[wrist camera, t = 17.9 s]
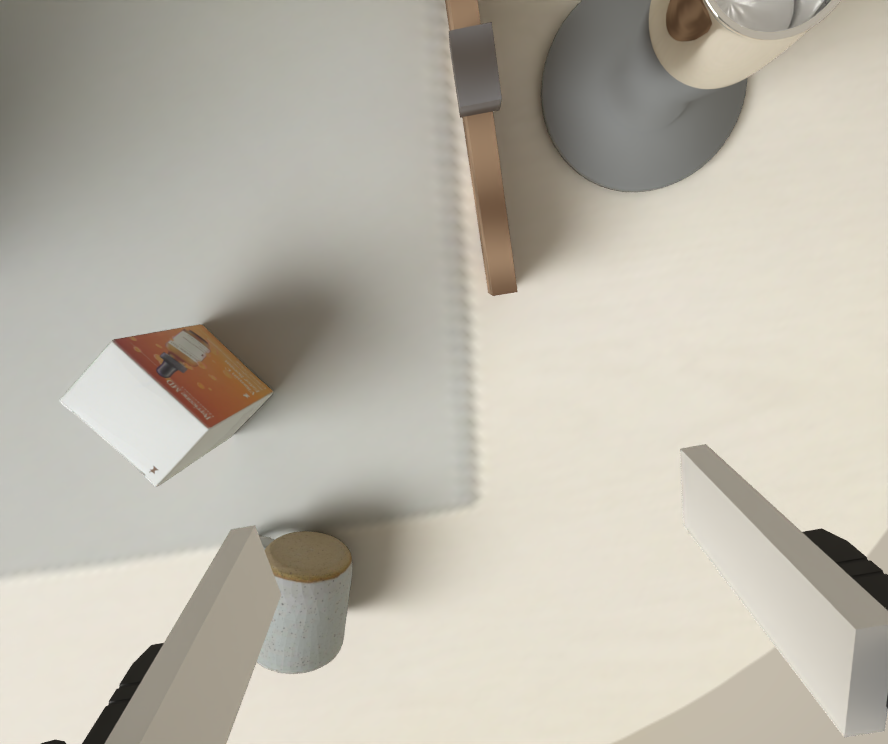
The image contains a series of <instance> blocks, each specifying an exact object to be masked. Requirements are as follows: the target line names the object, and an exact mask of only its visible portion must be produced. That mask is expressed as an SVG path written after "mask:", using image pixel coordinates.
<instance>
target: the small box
mask: <svg viewBox="0 0 888 744" xmlns="http://www.w3.org/2000/svg"><path fill="white" fill-rule="evenodd" d="M272 394H273V391H272V390H271V389H270V388H269V387H268V386H267V385H266V384H265V383H263V382H262V381H261V380H260V379H259V378H258V377H256V376H255V375H254V374H253V373H252V372H251V371H250V370H249V369H248V368H247V367H246V366H245V365H244V364H243V363H242V362H241V361H240V360H239V359H238V358H236V357H235V356H234V355H233V354H232V353H231V352H230V351H229V350H228V349H227V348H226V347H225V346H224V345H223V344H222V343H221V342H220V341H219V340H218V339H217V338H216V337H214V336H213V335H212V334H211V333H210V332H209V331H208V330H207V329H206V328H205V327H204V326H203V325H200V324H199V325H193V326H188V327H182V328H176V329H171V330H165V331H159V332H153V333H148V334H143V335H137V336H131V337H125V338H120V339H114V340H112V341H111V342H110V343H109V345H108V346H107V347H106V348H105V349H104V350H103V351H102V352H101V354H100V355H99V356H98V357H97V358H96V359H95V360H94V361H93V363H92V364H91V365H90V366H89V367H88V368H87V369H86V371H85V372H84V373H83V374H82V375H81V376H80V377H79V378H78V380H77V381H76V382H75V383H74V384H73V385H72V386H71V388H70V389H69V390H68V391H67V392H66V393H65V394H64V396H63V397H62V398H61V399H60V403H61V404H63V405H64V406H65V407H66V408H67V409H68V410H70V411H71V412H73V413H74V414H75V415H76V416H78V417H79V418H80V419H81V420H82V421H83V422H84V423H86V424H87V425H88V426H89V427H90V428H91V429H92V430H94V431H95V432H96V433H97V434H98V435H99V436H101V437H102V438H103V439H104V440H105V441H106V442H107V443H108V444H109V445H111V446H112V447H113V448H114V449H115V450H116V451H117V452H118V453H120V454H121V455H122V456H123V457H124V458H125V459H126V460H127V461H129V462H130V463H131V464H132V465H133V466H134V467H135V468H136V469H137V470H138V471H139V472H140V473H142V474H143V476H144V477H145V478H146V479H147V480H148V481H149V482H150V483H151V484H152V485H153V486H155V487H157V486H159V485H161V484H162V483H164V482H165V481H167V480H168V479H170V478H171V477H173V476H174V475H176V474H177V473H179V472H180V471H182V470H183V469H185V468H186V467H188V466H189V465H190V464H192V463H193V462H195V461H196V460H198V459H199V458H201V457H202V456H204V455H205V454H207V453H208V452H210V451H211V450H213V449H214V448H216V447H217V446H219V445H220V444H222V443H223V442H225V441H226V440H228V439H229V438H231V437H232V436H233V435H234V433H235V432H236V431H237V430H238V429H239V428H240V427H241V426H242V425H243V424H244V423H245V422H246V421H247V420H248V419H249V418H250V417H251V416H252V415H253V414H254V413H255V412H256V411H257V410H258V409H259V408H260V407H261V406H262V404H263V403H264V402H265V401H266V400H267V399H268V398H269V397H270V396H271V395H272Z"/></svg>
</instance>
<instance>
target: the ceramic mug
mask: <svg viewBox="0 0 888 744" xmlns="http://www.w3.org/2000/svg"><path fill="white" fill-rule="evenodd" d="M259 537H260V540H261V543H262V545H263V548H264V551H265V553H266V556H267V558H268V561H269V564H270V566H271V569H272V572H273V574H274V577H275V579H276V582H277V585H278V587H279V590H280V593H281V597H280V600H279V603H278V605H277V608H276V611H275V613H274V616H273V619H272V621H271V624H270V627H269V630H268V632H267V635H266V638H265V640H264V643H263V646H262V648H261V651H260V654H259V656H258V659H257V663H258V664H260V665H261V666H262V667H264V668H266V669H269V670H271V671H276V672H278V673H286V674H298V673H306V672H310V671H314V670H316V669H318V668H321V667H323V666H324V665H326V664H328V663H329V662H330V661H332V660H333V659H334V658H335V657H336V655H337V654H338V653H339V651H340V649H341V646H342V644H343V639H344V632H345V623H346V616H347V609H348V601H349V593H350V587H351V580H352V558H351V553H350V551H349V549H348V548H347V547H346V546H345V544H344V543H342V542H341V541H340V540H338V539H336V538H335V537H333V536H330V535H327V534H324V533H319V532H308V531H302V532H293V533H289V534H285V535H283V536H281V537H279V538H277V539H275V540H274V539H272V538H270V537H264V536H259Z"/></svg>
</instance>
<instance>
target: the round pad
mask: <svg viewBox="0 0 888 744" xmlns="http://www.w3.org/2000/svg"><path fill="white" fill-rule="evenodd" d="M647 2H648V0H582V1H581V2H580V3H579V4H578V5H577V6H576V7H575V8H574V9H573V10H572V12H571V13H570V14H569V15H568V17H567V18H566V19H565V21H564V22H563V24H562V25H561V27H560V29H559V30H558V32H557V34H556V36H555V38H554V40H553V43H552V45H551V47H550V50H549V53H548V56H547V59H546V62H545V66H544V71H543V77H542V88H541V98H542V109H543V115H544V120H545V123H546V126H547V130H548V133H549V135H550V137H551V139H552V141H553V143H554V145H555V147H556V148H557V150H558V152H559V153H560V155H561V156H562V157H563V158H564V160H565V161H566V162H567V163H568V164H569V165H570V166H571V167H572V168H573V169H574V170H575V171H576V172H577V173H579V174H580V175H581V176H583V177H585V178H586V179H588V180H589V181H591V182H593V183H595V184H597V185H599V186H602V187H605V188H608V189H612V190H617V191H623V192H643V191H651V190H655V189H659V188H663V187H666V186H668V185H671V184H674V183H676V182H678V181H680V180H682V179H684V178H686V177H688V176H690V175H691V174H693V173H694V172H695V171H697V170H698V169H700V168H701V167H702V166H703V165H705V164H706V163H707V162H708V161H709V160H710V159H711V158H712V157H713V156H714V155H715V154H716V153H717V151H718V150H719V149H720V148H721V147H722V145H723V144H724V143H725V141H726V140H727V138H728V137H729V135H730V133H731V132H732V130H733V128H734V126H735V124H736V122H737V119H738V117H739V114H740V112H741V109H742V106H743V102H744V98H745V93H746V86H747V78H746V79H744V80H743V81H741V82H739V83H737V84H735V85H733V86H731V87H728V88H726V89H724V90H722V91H719V92H717V93H714V94H711V95H708V96H705V97H702V98H699V99H696V100H693V101H690V103H689V104H688V106H687V107H686V109H685V110H684V111H683V112H682V114H681V115H680V116H679V117H678V118H677V119H676V120H674V121H673V122H672V123H671V124H669V125H667V126H666V127H664V128H661V129H659V130H655V131H650V132H638V131H633V130H630V129H628V128H626V127H624V126H622V125H621V124H620V123H618V122H617V121H616V120H615V119H614V117H613V116H612V115H611V113H610V111H609V110H608V107H607V105H606V102H605V97H604V79H605V75H606V71H607V69H608V66H609V64H610V62H611V61H612V59H613V57H614V56H615V55H616V53H617V52H618V51H619V50H620V49H621V48H622V47H623V46H624V45H626V44H627V43H628V42H629V41H631V40H632V39H634V38H635V36H636V33H637V30H638V27H639V24H640V21H641V18H642V15H643V12H644V10H645V7H646V5H647Z"/></svg>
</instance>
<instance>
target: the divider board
mask: <svg viewBox="0 0 888 744" xmlns="http://www.w3.org/2000/svg"><path fill="white" fill-rule="evenodd" d="M445 3H446V10H447V16H448V23H449V30H450V31H449V43H450V52H451V59H452V65H453V72H454V79H455V86H456V92H457V99H458V106H459V113H460V118H461V117H462V118H463V125H464V131H465V138H466V145H467V152H468V159H469V165H470V172H471V179H472V186H473V192H474V199H475V206H476V213H477V219H478V226H479V233H480V240H481V247H482V253H483V260H484V267H485V274H486V280H487V287H488V293H489V294H491V295H492V296H496V295H502V294H508V293H514V292H517V285H516V277H515V270H514V263H513V256H512V248H511V241H510V234H509V226H508V219H507V212H506V205H505V197H504V190H503V183H502V175H501V168H500V161H499V154H498V146H497V139H496V132H495V124H494V117H493V111H498V110H499V109H500V105H501V100H502V97H501V90H500V82H499V75H498V67H497V60H496V52H495V45H494V37H493V30H492V22H490V23H485V24H481V23H480V15H479V8H478V1H477V0H445Z"/></svg>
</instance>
